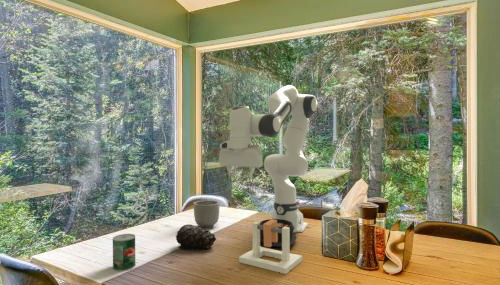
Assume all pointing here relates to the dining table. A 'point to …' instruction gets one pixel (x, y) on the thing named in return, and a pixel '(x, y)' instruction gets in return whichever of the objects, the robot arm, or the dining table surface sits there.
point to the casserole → (280, 225)
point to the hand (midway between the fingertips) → (240, 177)
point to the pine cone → (195, 238)
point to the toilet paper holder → (271, 252)
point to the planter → (206, 213)
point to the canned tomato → (123, 252)
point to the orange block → (270, 233)
